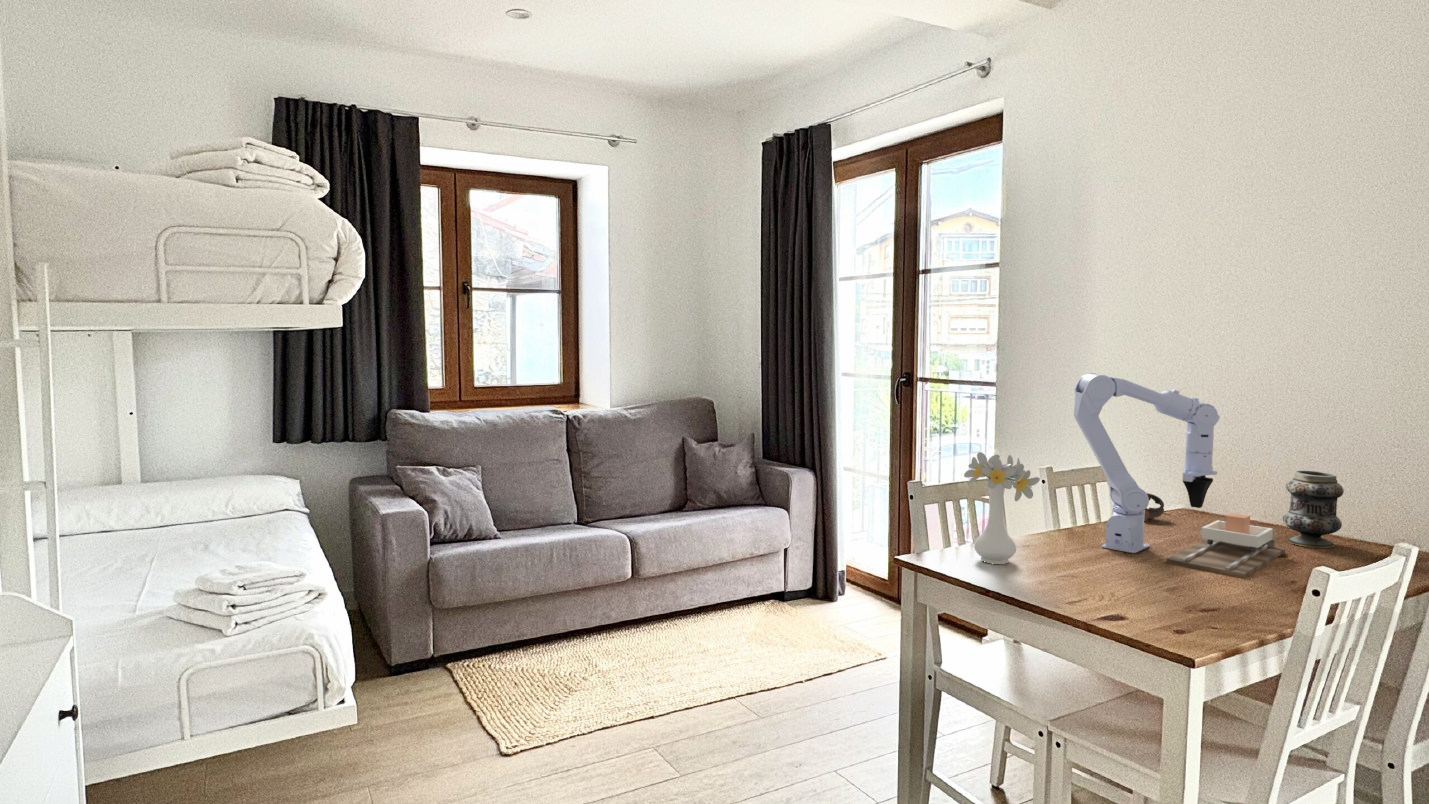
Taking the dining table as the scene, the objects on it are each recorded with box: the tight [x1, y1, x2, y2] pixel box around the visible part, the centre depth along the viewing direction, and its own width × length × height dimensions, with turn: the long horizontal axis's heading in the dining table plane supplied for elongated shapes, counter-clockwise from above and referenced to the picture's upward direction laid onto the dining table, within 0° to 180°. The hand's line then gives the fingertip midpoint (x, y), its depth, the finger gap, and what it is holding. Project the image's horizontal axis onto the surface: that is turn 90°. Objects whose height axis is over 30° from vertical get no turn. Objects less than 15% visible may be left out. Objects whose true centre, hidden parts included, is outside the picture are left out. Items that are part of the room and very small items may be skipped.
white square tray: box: [1200, 519, 1274, 552], centre depth 204 cm, size 11×12×4 cm
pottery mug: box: [1144, 492, 1165, 522], centre depth 240 cm, size 12×10×8 cm
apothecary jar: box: [1282, 469, 1345, 549], centre depth 211 cm, size 12×12×18 cm
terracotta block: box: [1225, 512, 1251, 534], centre depth 204 cm, size 4×4×5 cm
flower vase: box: [963, 451, 1041, 565], centre depth 196 cm, size 13×18×25 cm
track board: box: [1165, 538, 1286, 579], centre depth 200 cm, size 30×16×3 cm, turn 132°
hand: (1196, 507), depth 207 cm, fingers closed
